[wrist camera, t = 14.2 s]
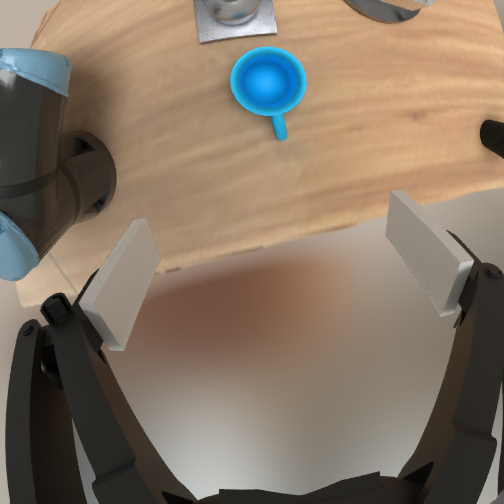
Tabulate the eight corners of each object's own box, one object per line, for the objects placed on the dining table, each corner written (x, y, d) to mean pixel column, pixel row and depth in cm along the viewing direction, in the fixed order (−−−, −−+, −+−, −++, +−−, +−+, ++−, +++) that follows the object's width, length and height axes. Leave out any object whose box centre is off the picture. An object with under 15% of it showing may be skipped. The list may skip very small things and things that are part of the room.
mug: (227, 63, 31) (221, 56, 24) (287, 50, 30) (296, 40, 23) (251, 142, 37) (250, 155, 30) (307, 129, 36) (320, 140, 29)
